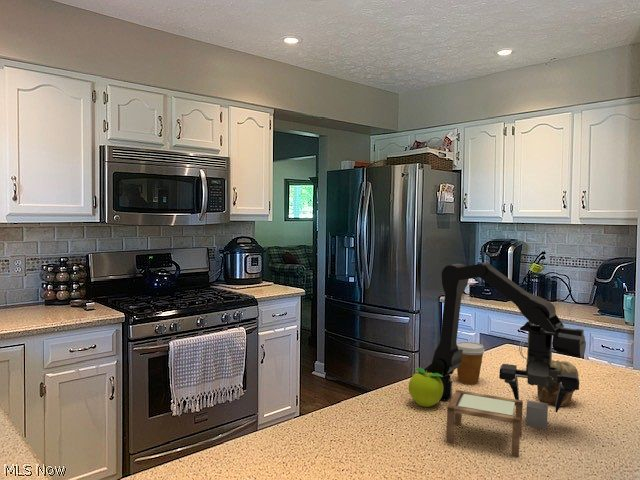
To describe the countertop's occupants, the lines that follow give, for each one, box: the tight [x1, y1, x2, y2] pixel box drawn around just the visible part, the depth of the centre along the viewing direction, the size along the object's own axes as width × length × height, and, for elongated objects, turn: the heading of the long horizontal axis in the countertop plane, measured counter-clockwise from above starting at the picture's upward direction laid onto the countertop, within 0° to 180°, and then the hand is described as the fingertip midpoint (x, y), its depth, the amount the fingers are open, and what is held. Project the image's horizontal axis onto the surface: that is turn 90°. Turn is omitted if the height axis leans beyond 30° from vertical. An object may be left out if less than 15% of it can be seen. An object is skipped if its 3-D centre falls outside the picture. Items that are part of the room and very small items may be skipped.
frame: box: [445, 389, 524, 458], centre depth 121 cm, size 16×13×8 cm
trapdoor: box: [457, 394, 516, 416], centre depth 121 cm, size 12×9×1 cm
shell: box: [536, 359, 579, 407], centre depth 147 cm, size 11×11×12 cm
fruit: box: [408, 367, 443, 408], centre depth 142 cm, size 9×9×10 cm
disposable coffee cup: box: [456, 341, 486, 385], centre depth 163 cm, size 10×10×12 cm
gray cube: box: [525, 399, 549, 430], centre depth 131 cm, size 5×5×5 cm
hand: (536, 408), depth 131 cm, fingers open, 9 cm apart
